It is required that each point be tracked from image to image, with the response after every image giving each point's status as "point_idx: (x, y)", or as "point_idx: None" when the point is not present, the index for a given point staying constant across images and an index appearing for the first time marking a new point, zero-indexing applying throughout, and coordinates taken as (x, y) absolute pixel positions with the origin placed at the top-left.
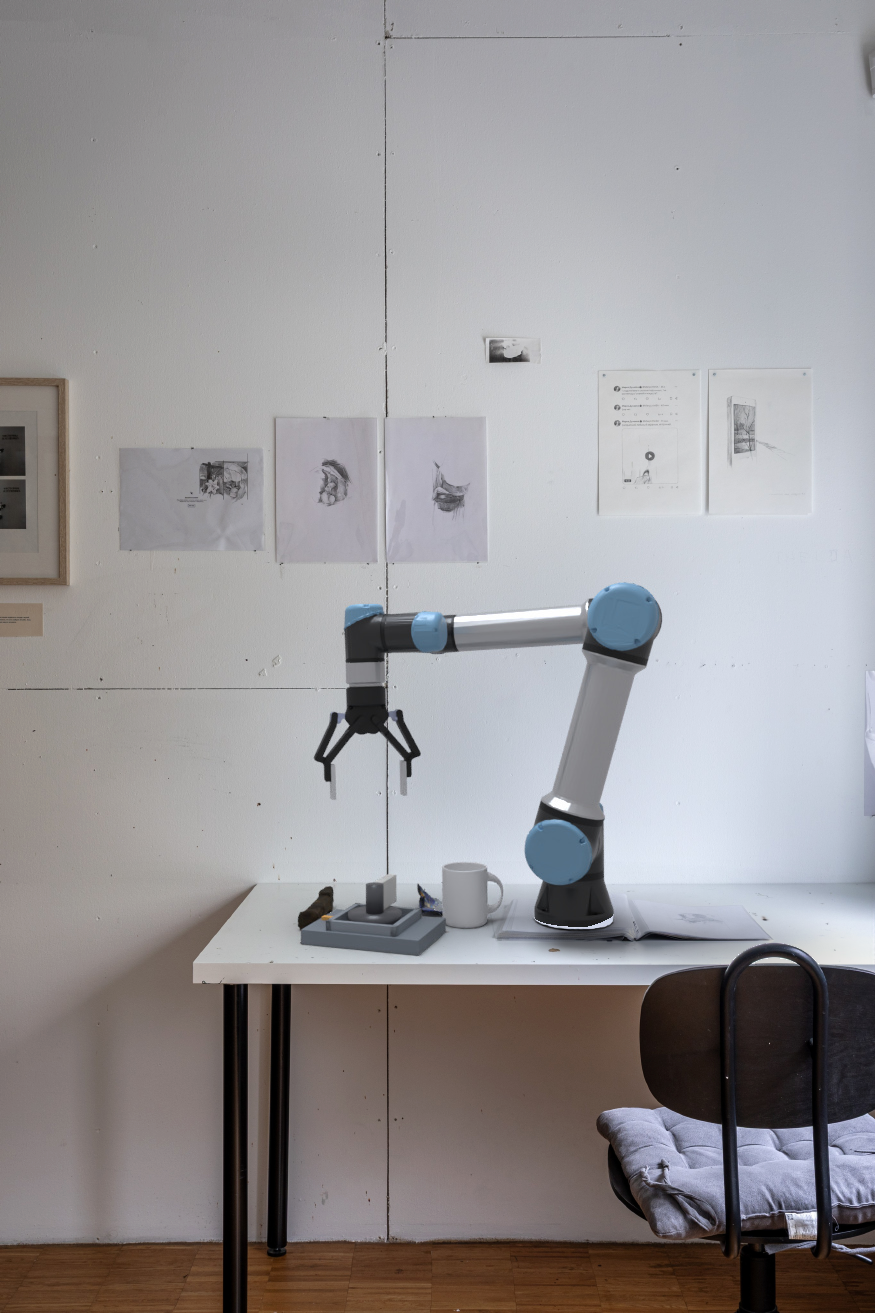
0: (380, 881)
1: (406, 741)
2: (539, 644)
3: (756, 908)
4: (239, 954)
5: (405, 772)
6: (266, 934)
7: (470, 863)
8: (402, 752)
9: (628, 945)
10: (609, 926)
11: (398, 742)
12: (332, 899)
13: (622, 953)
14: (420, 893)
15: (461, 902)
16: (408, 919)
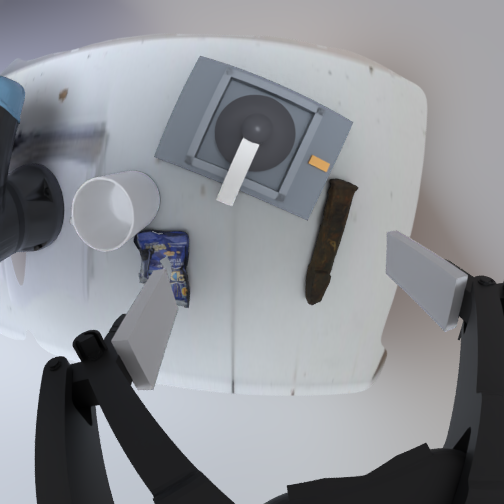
0: (246, 148)
1: (88, 442)
2: None
3: None
4: (404, 104)
5: (132, 311)
6: (385, 174)
7: (94, 246)
8: (111, 374)
9: None
10: None
11: (113, 422)
12: (309, 278)
13: None
14: (186, 288)
15: (126, 173)
16: (206, 110)
